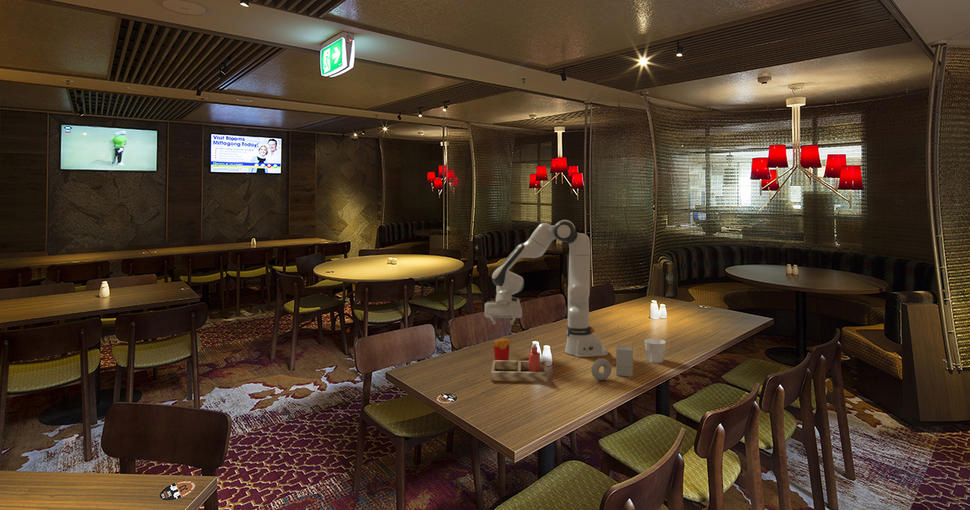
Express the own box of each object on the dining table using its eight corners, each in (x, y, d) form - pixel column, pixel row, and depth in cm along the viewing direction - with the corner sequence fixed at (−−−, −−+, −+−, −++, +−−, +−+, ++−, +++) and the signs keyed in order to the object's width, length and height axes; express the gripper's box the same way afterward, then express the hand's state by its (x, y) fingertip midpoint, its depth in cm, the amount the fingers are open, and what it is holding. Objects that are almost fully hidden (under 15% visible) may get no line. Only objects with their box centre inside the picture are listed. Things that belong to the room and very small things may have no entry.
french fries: (495, 364, 236) (495, 341, 235) (492, 362, 240) (492, 339, 238) (511, 362, 239) (511, 339, 238) (508, 360, 243) (508, 337, 241)
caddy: (546, 369, 229) (546, 361, 228) (547, 381, 212) (547, 373, 212) (493, 368, 231) (493, 360, 230) (490, 380, 215) (490, 372, 214)
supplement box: (632, 371, 224) (633, 345, 222) (632, 377, 217) (632, 350, 215) (616, 370, 226) (617, 344, 225) (615, 375, 219) (616, 348, 218)
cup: (655, 364, 233) (655, 345, 232) (639, 359, 241) (640, 340, 240) (669, 361, 237) (670, 342, 236) (654, 355, 246) (654, 337, 245)
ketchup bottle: (539, 374, 221) (539, 342, 220) (540, 378, 216) (540, 345, 215) (528, 374, 222) (528, 342, 220) (528, 378, 217) (528, 345, 215)
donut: (608, 377, 217) (608, 356, 216) (612, 379, 213) (613, 358, 212) (589, 380, 213) (589, 358, 212) (593, 383, 210) (594, 361, 209)
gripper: (484, 298, 257) (482, 320, 248) (522, 298, 255) (521, 321, 246) (485, 304, 262) (483, 326, 253) (522, 305, 260) (521, 327, 251)
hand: (502, 323), depth 250 cm, fingers open, 8 cm apart
